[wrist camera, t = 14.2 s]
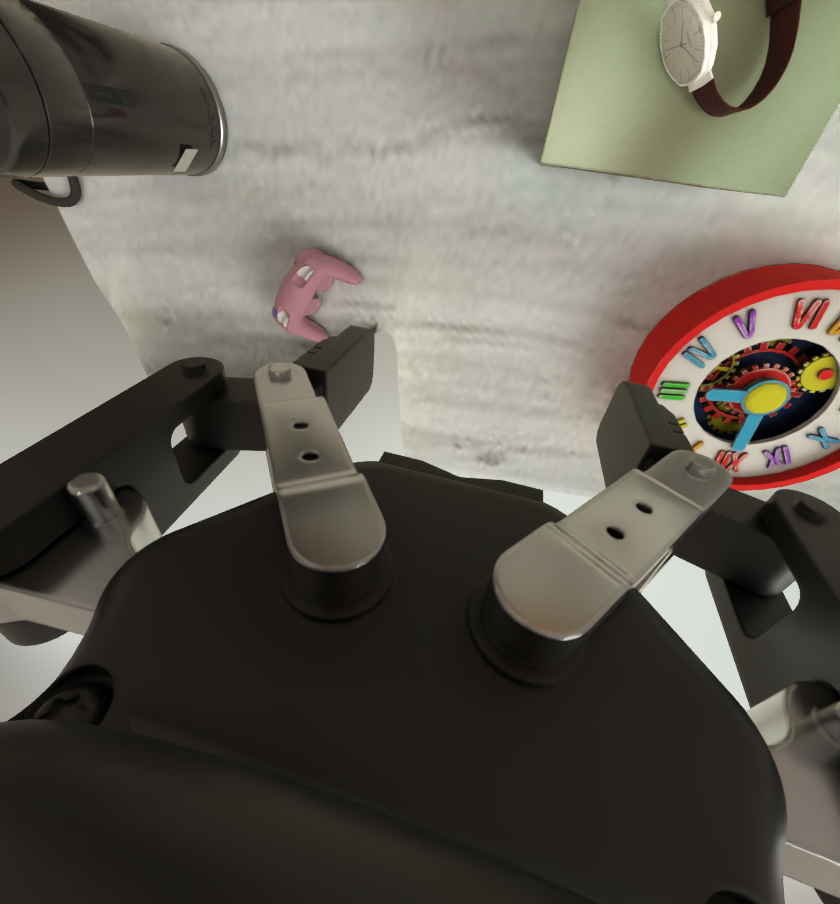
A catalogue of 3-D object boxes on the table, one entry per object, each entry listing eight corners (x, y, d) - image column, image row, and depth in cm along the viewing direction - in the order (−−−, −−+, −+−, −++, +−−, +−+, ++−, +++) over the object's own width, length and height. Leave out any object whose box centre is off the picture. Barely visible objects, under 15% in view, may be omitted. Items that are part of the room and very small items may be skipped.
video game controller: (345, 248, 42) (291, 235, 36) (368, 277, 41) (317, 269, 36) (308, 318, 48) (257, 316, 42) (328, 345, 47) (279, 347, 41)
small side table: (539, 164, 33) (539, 163, 22) (594, -62, 25) (632, -225, 15) (702, 187, 31) (785, 197, 21) (810, -48, 24) (1027, -221, 13)
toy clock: (1019, 280, 26) (840, 503, 37) (946, 263, 30) (807, 466, 42) (680, 277, 30) (615, 477, 42) (661, 263, 35) (608, 447, 46)
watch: (634, -35, 17) (652, -75, 15) (764, -151, 15) (816, -225, 12) (683, 145, 20) (707, 141, 17) (799, 71, 18) (847, 53, 15)
